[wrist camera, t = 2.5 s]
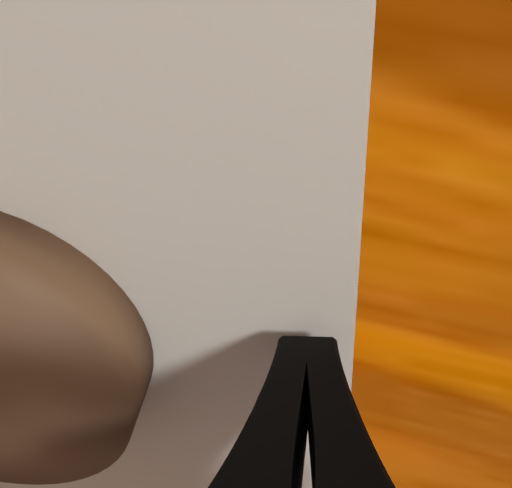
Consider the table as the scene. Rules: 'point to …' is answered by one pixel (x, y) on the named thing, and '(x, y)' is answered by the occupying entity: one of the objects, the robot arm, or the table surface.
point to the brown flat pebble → (64, 360)
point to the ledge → (196, 190)
